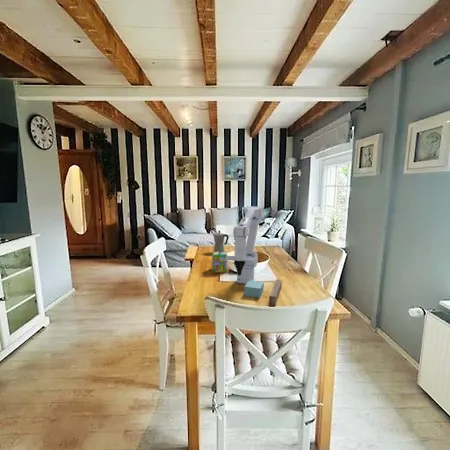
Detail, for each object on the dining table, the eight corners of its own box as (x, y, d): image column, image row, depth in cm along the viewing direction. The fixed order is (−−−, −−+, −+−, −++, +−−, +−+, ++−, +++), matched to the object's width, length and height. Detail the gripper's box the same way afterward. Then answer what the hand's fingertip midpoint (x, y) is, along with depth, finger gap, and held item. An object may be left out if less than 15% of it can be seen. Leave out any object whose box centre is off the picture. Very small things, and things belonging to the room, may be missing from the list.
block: (244, 296, 139) (244, 286, 138) (248, 289, 148) (248, 280, 148) (260, 298, 137) (260, 288, 136) (263, 291, 146) (263, 281, 145)
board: (268, 305, 128) (269, 295, 128) (275, 287, 151) (276, 279, 150) (275, 306, 127) (275, 296, 127) (281, 288, 150) (281, 280, 149)
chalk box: (211, 268, 183) (212, 246, 180) (225, 268, 183) (226, 246, 181) (212, 273, 174) (212, 249, 171) (226, 272, 174) (227, 249, 172)
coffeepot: (209, 252, 226) (209, 230, 224) (215, 250, 234) (215, 229, 232) (225, 255, 218) (225, 232, 216) (231, 252, 226) (231, 231, 224)
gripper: (224, 249, 140) (223, 275, 142) (252, 252, 136) (251, 278, 138) (228, 246, 147) (227, 271, 149) (255, 249, 142) (254, 274, 144)
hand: (239, 274), depth 144 cm, fingers closed
